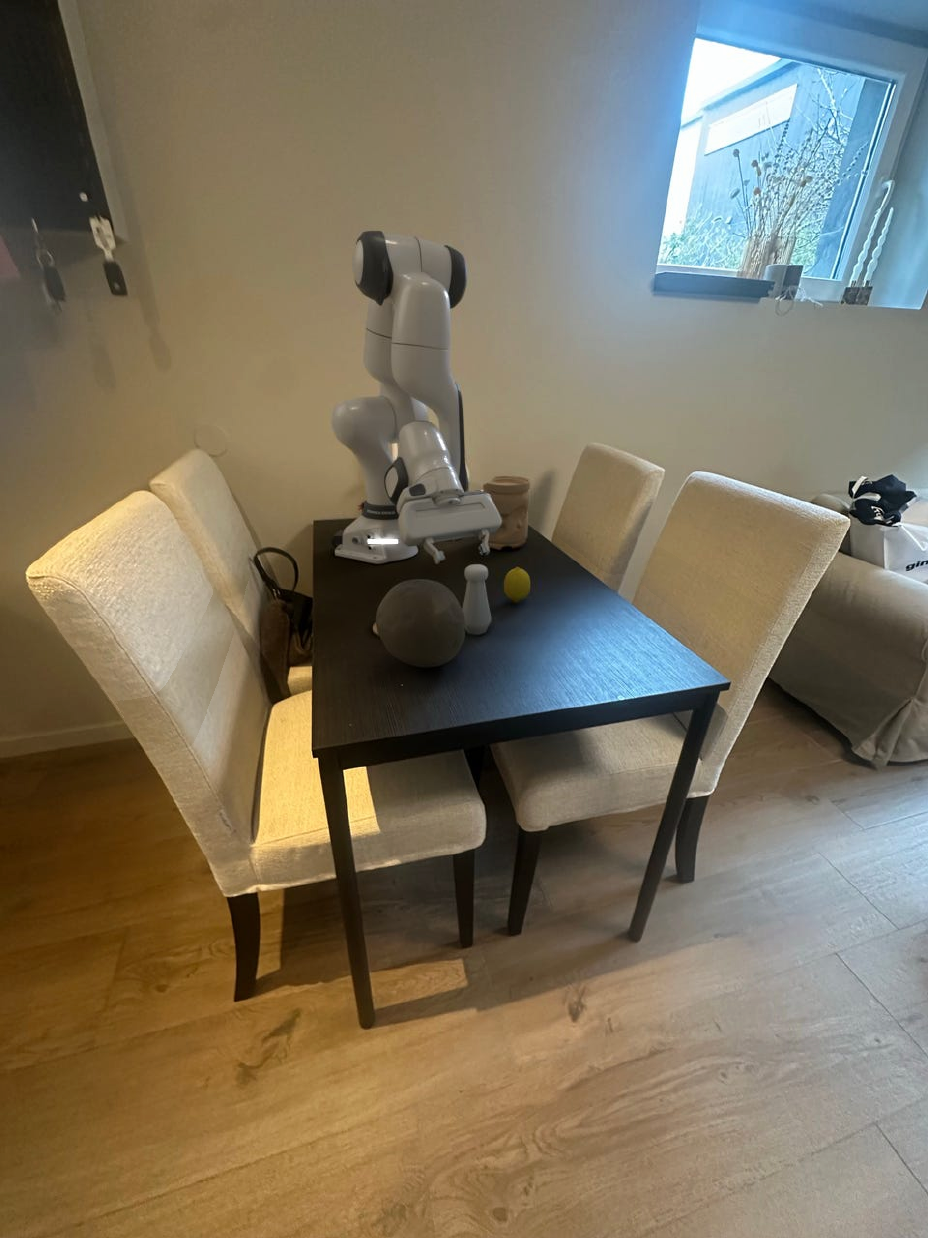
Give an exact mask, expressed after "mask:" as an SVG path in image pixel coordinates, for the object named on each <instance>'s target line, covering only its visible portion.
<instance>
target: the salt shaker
mask: <svg viewBox="0 0 928 1238" xmlns="http://www.w3.org/2000/svg"><path fill="white" fill-rule="evenodd" d="M488 577H489V569H488V567H487V566H485V565H484V564H480V563H474V564H469V565H468V566H466V567H465V568H464V579H465V580H466V586H465V592H464V597H463V598H464V599H463V603H462V610H463V613H464V617H465V626H464V630H465V632H466V633H467V634H468V635H476V636H479V635H482V634H485V633H486V632H487V631H488V628H489V627H490V625H491V623H492V614H491V609H490V605H489V599H488V593H487V592H488V591H487V587H486V582H485V581H487V579H488Z"/></svg>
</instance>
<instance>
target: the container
mask: <svg viewBox="0 0 928 1238" xmlns="http://www.w3.org/2000/svg"><path fill="white" fill-rule="evenodd" d="M530 488H531V480H530V478H527V477H523V476H515V475H496V476H494V477H493V478H492V479H491V480H490V481H489V482H484V483H483V485H482V492H486V493H488V494H489V495H490V496H491V499H492V501H493V503H494V505H495V507H496V509H497V511H498V512H499V514H500V517H501V519H502V523H501V526H500V527H499V529H498V530H497V531H496V532H495V533H492V534H489V539H488V543H487V544H488V546H489V548H491V549H495V550H498V551H501V550H502V549H503V548H510V549H517V548H521V547H522V546H523V545H524V544H525V543H526V542H527V540H526V539H527V538H528V530H529V529H528V527H529V513H528V509H529V507H530V506H529V505H530V491H529V490H530Z"/></svg>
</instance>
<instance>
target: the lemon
mask: <svg viewBox="0 0 928 1238" xmlns="http://www.w3.org/2000/svg"><path fill="white" fill-rule="evenodd" d="M503 590H504V593H505V596H506V597H507V598H508V599H509V600H511V601H513V602H514V603H519V602H520V601H523V600H525V599H526V598H527V597H528V595H529V593H530V591H531V579H530V575H529V574H528V572H527V571H525V570H524V569H523V568H520V567H519V566H516V567H515V568H513V569H510V570H509V571H508V572H507V573H506V575H505V577H504V581H503Z"/></svg>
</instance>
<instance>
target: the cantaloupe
mask: <svg viewBox="0 0 928 1238" xmlns="http://www.w3.org/2000/svg"><path fill="white" fill-rule="evenodd" d="M462 609H463V607H462V605H461V604H460V601H459V600H458V599H457V597H456V594H454V593H453V591H451V590H450V589H449V588H448V587H447V586H445V585H443V584H442V583H440V582H438V581H435V580H432V579H431V580H430V579H424V578H417V579H416V578H415V579H409V580H405V581H402V582H399V583H398V584H396V585H395V586H393V587H392V588H391V589H390V590H389V591H388V592H387V593H386V594H385V596H384V597H383V598H382V599H381V602H380V603H379V605H378V608H377V611H376V615H375V622H376V627H377V632H378V634H379V636H378V637H379V638H380V639H379V640H381V642H382V644H383V646H384V648H385V649H386V650H387V652H389V654H390V655H391V656H393V657H394V658H396V659H397V660H399V661H400V662H402V663H404V664H407V665H409V666H413V667H417V668H426V669H427V668H429V669H430V668H436V667H439V666H443V665H444V664H446V663H448V662H450V661H452V660H453V659H454V658H455V657H456V656H457V655H458V653H459V652H460V651H461V649H462V647H463V645H464V642H465V637H466V630H465V628H464V626H465V617H464V613H463V610H462Z"/></svg>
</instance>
